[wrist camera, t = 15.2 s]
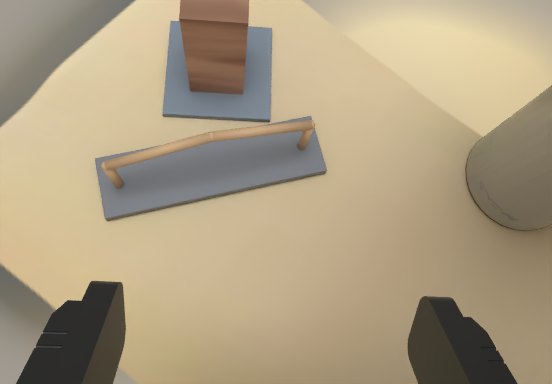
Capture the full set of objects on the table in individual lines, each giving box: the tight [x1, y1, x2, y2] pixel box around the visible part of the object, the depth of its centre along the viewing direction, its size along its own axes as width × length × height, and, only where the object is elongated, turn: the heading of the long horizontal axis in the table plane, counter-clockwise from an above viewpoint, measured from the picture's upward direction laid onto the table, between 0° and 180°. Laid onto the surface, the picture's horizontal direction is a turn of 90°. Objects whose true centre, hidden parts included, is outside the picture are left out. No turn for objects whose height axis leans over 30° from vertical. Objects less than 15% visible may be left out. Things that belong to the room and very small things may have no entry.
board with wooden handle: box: [95, 116, 327, 221], centre depth 37 cm, size 5×18×7 cm, turn 105°
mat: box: [163, 21, 272, 122], centre depth 42 cm, size 9×9×1 cm
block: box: [179, 0, 249, 95], centre depth 37 cm, size 4×4×10 cm
